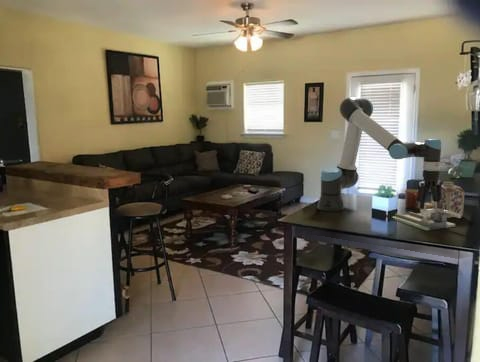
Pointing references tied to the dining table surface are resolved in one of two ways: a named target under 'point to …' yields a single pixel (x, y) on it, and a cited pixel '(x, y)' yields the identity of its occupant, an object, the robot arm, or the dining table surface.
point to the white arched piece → (432, 209)
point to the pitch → (416, 220)
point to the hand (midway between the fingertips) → (428, 214)
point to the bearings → (441, 216)
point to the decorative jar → (451, 198)
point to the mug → (411, 199)
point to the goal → (434, 224)
